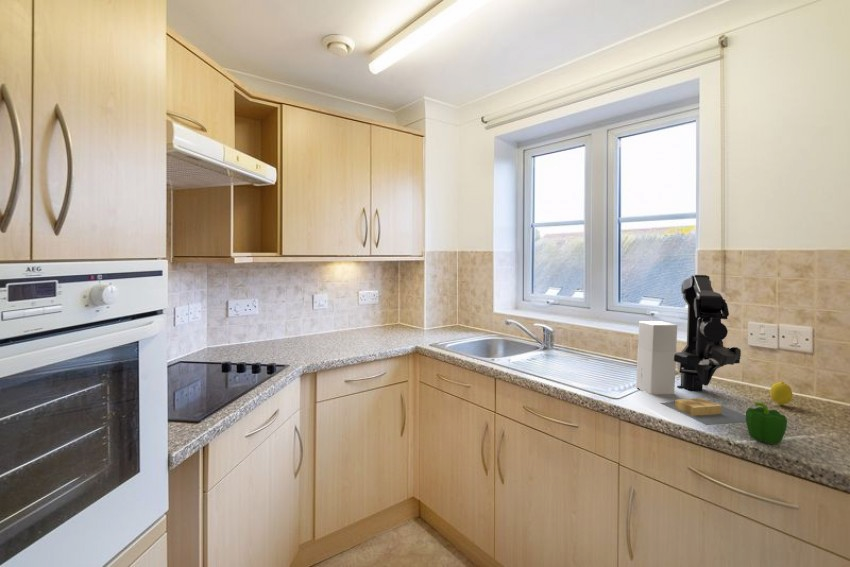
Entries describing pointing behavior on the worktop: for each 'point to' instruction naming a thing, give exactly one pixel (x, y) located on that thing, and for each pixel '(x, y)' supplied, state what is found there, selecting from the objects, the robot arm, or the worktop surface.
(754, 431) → the bell pepper
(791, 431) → the worktop surface
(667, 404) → the rubber mat
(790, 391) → the lemon
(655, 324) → the tall white carton
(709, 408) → the ochre block
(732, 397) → the worktop surface
